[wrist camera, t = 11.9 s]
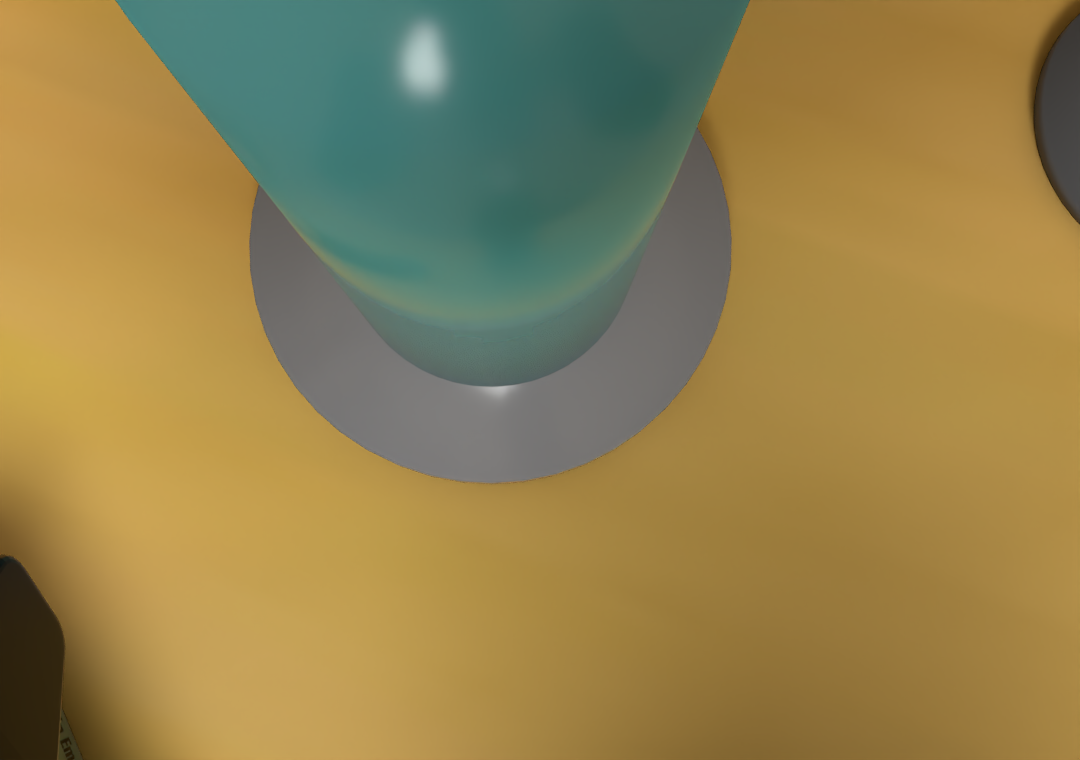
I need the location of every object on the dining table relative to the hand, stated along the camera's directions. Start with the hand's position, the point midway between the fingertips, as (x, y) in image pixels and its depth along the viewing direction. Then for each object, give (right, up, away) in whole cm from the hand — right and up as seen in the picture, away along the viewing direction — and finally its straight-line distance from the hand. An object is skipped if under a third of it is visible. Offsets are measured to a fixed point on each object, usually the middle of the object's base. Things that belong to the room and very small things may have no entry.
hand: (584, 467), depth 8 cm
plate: (-1, +3, +14) cm, 14 cm away
